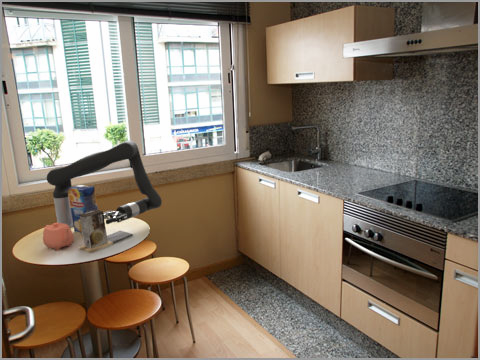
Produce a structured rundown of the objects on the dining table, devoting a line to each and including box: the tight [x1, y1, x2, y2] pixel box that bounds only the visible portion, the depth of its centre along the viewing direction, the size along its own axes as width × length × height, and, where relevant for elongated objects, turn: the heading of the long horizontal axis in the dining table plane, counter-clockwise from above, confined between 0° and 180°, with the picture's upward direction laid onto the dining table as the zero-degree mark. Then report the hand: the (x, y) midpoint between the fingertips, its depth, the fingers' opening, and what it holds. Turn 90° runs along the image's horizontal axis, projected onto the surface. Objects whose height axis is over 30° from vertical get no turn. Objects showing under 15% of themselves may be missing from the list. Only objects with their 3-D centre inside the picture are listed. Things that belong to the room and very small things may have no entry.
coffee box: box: [79, 209, 108, 249], centre depth 186 cm, size 9×6×16 cm
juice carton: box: [67, 184, 99, 234], centre depth 208 cm, size 12×8×24 cm, turn 62°
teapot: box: [42, 222, 75, 252], centre depth 189 cm, size 20×12×12 cm, turn 56°
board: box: [78, 230, 134, 254], centre depth 193 cm, size 10×24×1 cm, turn 144°
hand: (101, 220), depth 189 cm, fingers open, 8 cm apart
